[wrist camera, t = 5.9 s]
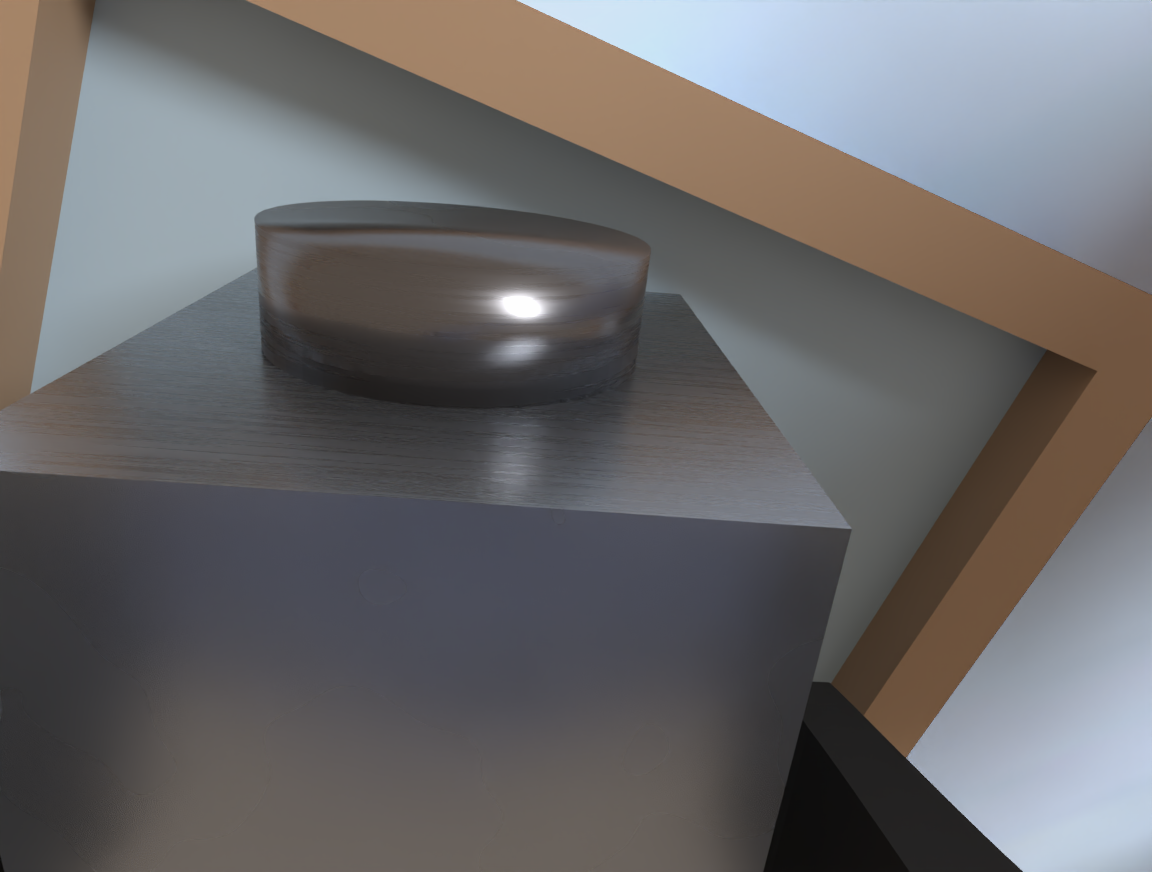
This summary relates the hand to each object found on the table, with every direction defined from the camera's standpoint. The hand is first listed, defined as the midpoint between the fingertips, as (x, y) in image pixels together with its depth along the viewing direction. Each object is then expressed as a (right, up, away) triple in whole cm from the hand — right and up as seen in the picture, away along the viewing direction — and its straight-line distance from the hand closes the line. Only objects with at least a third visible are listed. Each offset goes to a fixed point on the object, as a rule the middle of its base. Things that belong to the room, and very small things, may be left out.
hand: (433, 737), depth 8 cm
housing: (0, +1, +3) cm, 3 cm away
